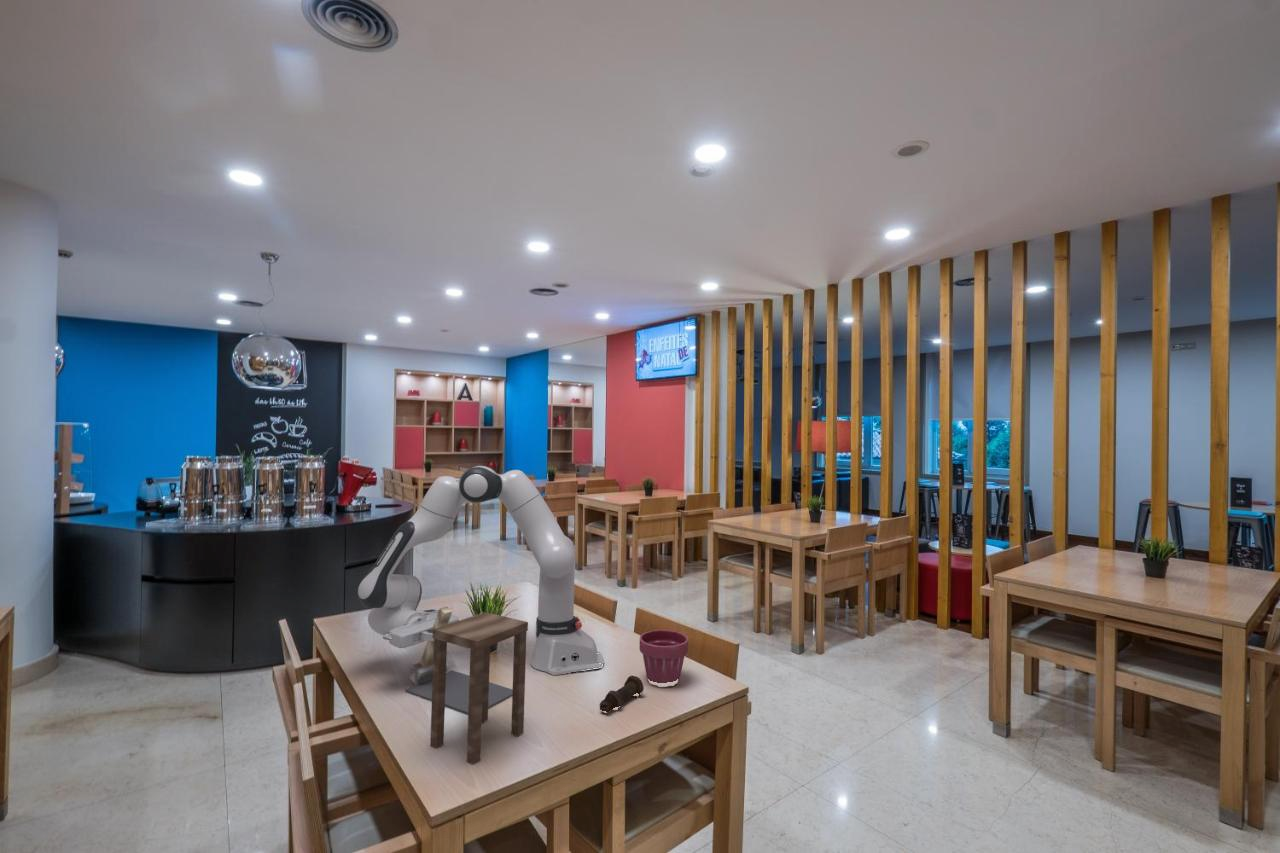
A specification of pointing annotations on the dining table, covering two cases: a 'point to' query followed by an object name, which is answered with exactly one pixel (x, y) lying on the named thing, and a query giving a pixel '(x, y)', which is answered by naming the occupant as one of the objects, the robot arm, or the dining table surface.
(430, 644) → the hammer
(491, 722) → the dining table surface
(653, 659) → the plant pot
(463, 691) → the mat
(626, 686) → the bolt
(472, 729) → the stool
